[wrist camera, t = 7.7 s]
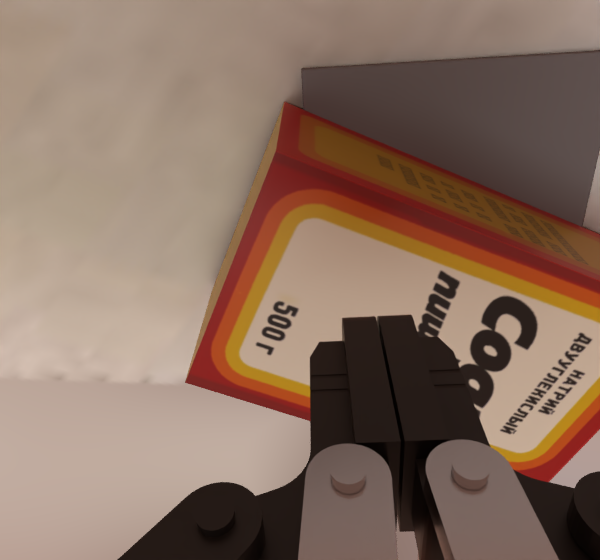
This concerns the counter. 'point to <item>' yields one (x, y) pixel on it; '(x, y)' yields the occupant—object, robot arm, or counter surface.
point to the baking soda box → (407, 287)
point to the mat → (480, 119)
